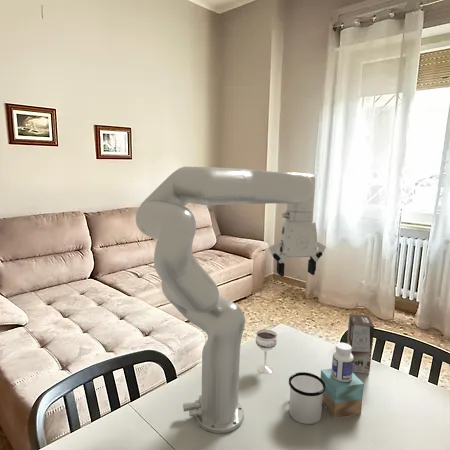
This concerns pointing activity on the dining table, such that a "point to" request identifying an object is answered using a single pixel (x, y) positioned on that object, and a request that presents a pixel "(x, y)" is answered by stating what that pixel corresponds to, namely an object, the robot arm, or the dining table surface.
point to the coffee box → (360, 341)
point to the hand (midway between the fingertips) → (296, 274)
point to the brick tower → (342, 395)
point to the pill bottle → (342, 362)
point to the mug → (306, 397)
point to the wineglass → (266, 346)
